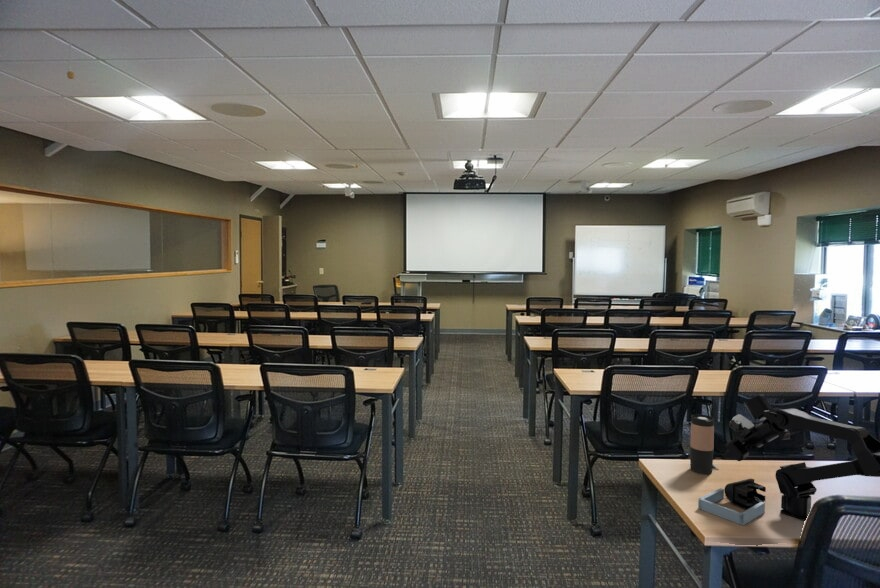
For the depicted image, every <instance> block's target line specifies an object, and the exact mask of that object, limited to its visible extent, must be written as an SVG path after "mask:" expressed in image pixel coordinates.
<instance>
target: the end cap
mask: <svg viewBox="0 0 880 588" xmlns="http://www.w3.org/2000/svg"><path fill="white" fill-rule="evenodd" d="M723 489H724V495H725V497H726V499H727V500H728V502H730V503H731V504H732V506H735V507H737V508H740V509H742V510H744V511H746V510H748V509H749V508H751V507H753V506H755V505H756V504H758V503H760V502H764V503H765V502H766V495H765V494H762V493H759V492H758V491H761V492H763V493H766V492H767V491H766V486H764V485H762V484H759V483H757V482H755V479H754V478H747V479H743V480H739V481H735V482H730V483H727V484H726V485H725V486H724V488H723ZM757 490H758V491H757Z"/></svg>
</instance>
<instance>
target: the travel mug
mask: <svg viewBox="0 0 880 588" xmlns="http://www.w3.org/2000/svg"><path fill="white" fill-rule="evenodd" d="M714 434H715V418H714V417H713V416H711V415H706V414H700V413H699V414H691V420H690V443H689V445H690V446H689V448H690V449H689V450H690V451H689V453H690V456H689V457H690V458H689V459H690V462H689V463H690V464H689V466H690V467H689V468H690V470H691V471H692V472H693V473H696V474H699V475H700V474H701V475H711V474H712V473H713V462H714V447H715V446H714V443H715V442H714V441H715V440H714V439H715V435H714Z"/></svg>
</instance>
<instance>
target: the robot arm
mask: <svg viewBox="0 0 880 588" xmlns="http://www.w3.org/2000/svg"><path fill="white" fill-rule="evenodd" d="M743 404H744V406H745V407H746V410H747V411H748V412H749V413H750V415H751V417H752V418H753V419H754V420H755V421H756V420H757V419H758V421H759V423H756V424H754V423H753V422H752V420H750V419H748V418H747V417H746V416H744V415H742V414H740V413H739V414H736V415H735V416H733V417H732V419H731V420H730V421H729V422H728V425H729V428H730V429H732V430H733V431H734V432H735V433H736V432H738V433H740V434H739V436H740V437H741V439H743V440H742V441H740V440H739V439H737V438H733V439H731V440H730V441H728V442H727V443H726V444H725V445H724V446H725V448H726V449H727V450H726V452H724V454H723V455H722V457H723V458H724V459H725V460H736V461H738V462H741V461H743V460H745V459H746V458H747V457H749V456H750V451H749V450H751V449H752V450H753V451H757V450H758V449H759V448H761V447H762V446H765V445H767V444H768V443H770V442H772V441H773V440H775V439H777V438H778V437H779V439H780V440H781V441H784V440H791V431H807V432H810V433H814V434H820V435H824V436H827V437H832V438H835V439H839V440H840V439H841V440H843V441H847V443H849V445H850V446H851V448H852V452H853V453H854V455H855V457H856V458H855V459H852V460H850V461H849V460H848V461H844V462H837V463H832V464H825V465H820V466H814V467H812V466H810V467H809V466H807V464H806V461H804V462H798V463H791V464H786V465H780V466H779V469H777V470H776V471H775V480H776V481H777V485H778V489H779V492H780V494H781V498H780V499H781V500H780V501H781V502H780V503H781V504H780V505H781V506H780V508H781V510H780V513H781V514H784V515H788V516H790V517H792V518H793V517H794V518H797V519H798V520H799V519H800V520H803V521H807V520H806V518H807V516H808V514H809V512H810V509H811V510H812V496H814V495H816V493H817V488H816V486H815V485H814V483H813V482H816V481H822V480H830V479H837V478H844V477H852V476H863V477H869V478H870V477H874V478H875V477H876V478H880V440H879V439H877V438H876V437H875V436H873V435H872V433H870V432H869V430H868V429H866V428H865V427H862V426H854V425H849V424H845V423H842V422H838V421H832V420H828V419H824V418H823V419H822V418H819V417H814V416H811V415H810V414H809V413H807V412H805V411H802V410H800V409H798V408H793V407H792V408H791V407H790V408H787V409H786V408H785V409H782V408H774V409H773V406H772V405H771V404H770V402H769V401H768V398H767V397H766V396H765V394H758V395H756V396H753V397H752V398H749V399H745V401H744V402H743ZM760 421H762V422H761V423H760ZM790 430H791V431H790Z"/></svg>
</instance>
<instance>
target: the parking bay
mask: <svg viewBox="0 0 880 588" xmlns="http://www.w3.org/2000/svg"><path fill="white" fill-rule="evenodd" d="M724 489H725V488H722V487H720V488H718V489H715V490H713V491H711V492H710V493H707V494H705V495H704V496H701V497H699V498H698V507H697V509H699V510H702V511H704V512H707V513H710V514H711V515H715V516H718V517H720V518H722V519H725V520H728V521H730V522H733V523H735V524H738V525H741V526H745V525H746V524H748V523H750V522H752V521H754V519H756V518H759V517H760V516H761V515H763V514H764V513H765V512H766V511H765V509H766V506H765V505H766V503H765V501H764V502H760V503H758V504H756V505H755V506H753V507H751V508H749V509H748V510H744V511H743V512H739V511H737V510H735V509H731V508H728V507H725V506H723V505H722V504H721V505H720V504H718V503H717V502H719V501H721V500H723V499H724V497H725V496H724V495H725V492H724Z"/></svg>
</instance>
